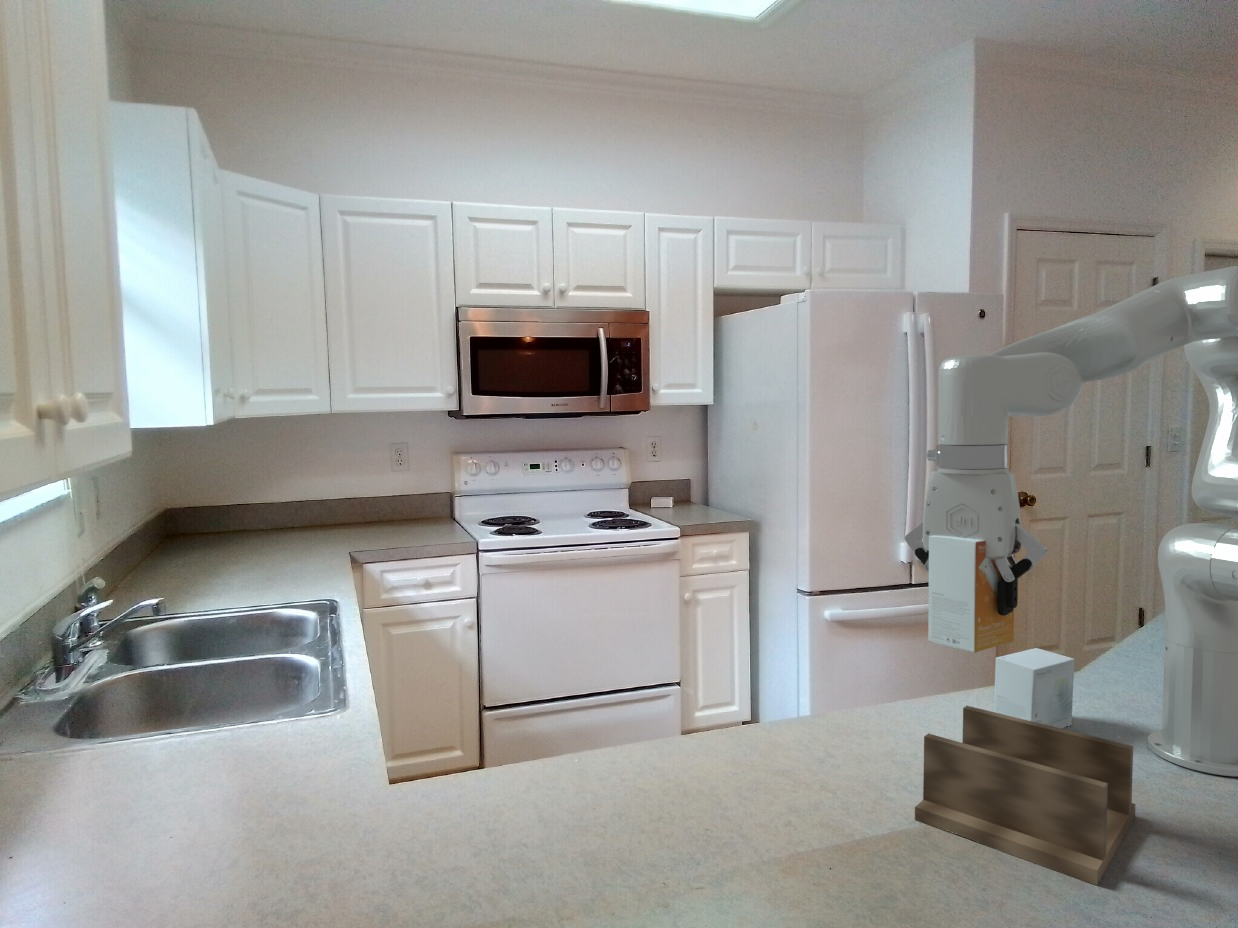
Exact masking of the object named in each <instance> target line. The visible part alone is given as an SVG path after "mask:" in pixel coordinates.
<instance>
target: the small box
mask: <svg viewBox="0 0 1238 928" xmlns="http://www.w3.org/2000/svg"><path fill="white" fill-rule="evenodd" d="M1013 556H1014V558H1015V559H1016V553H1015V554H1013ZM1001 580H1002V575H1001V573H1000V571H999V569H998V567H997V565H996V563H995V561H994V560H993V559H987V558H986V542H985V541H984V540H977V539H969V538H961V537H949V536H929V572H928V622H927V623H928V624H927V625H928V630H927V631H928V633H927V634H928V635H927V640H928V642H931V643H935V644H938V645H942V646H946V647H949V648H954V649H956V650H961V651H966V652H969V653H974V654H976V653H978V652H981V651H984V650H988V649H991V648H995V647H998V646H1002V645H1005V644H1006V645H1007V644H1012V643H1013V642H1014V640H1015V636H1014V635H1015V632H1014V631H1015V630H1014V629H1015V608H1013V612H1011V613H1009V614H1007V615H1005V616H1003V615H999V614H998V582H999V581H1001Z"/></svg>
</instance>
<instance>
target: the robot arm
mask: <svg viewBox="0 0 1238 928" xmlns="http://www.w3.org/2000/svg"><path fill="white" fill-rule="evenodd" d="M1182 347H1183V349H1184V355H1185V358H1186V361H1187V362H1188V364H1189V366H1190V368H1191V369H1192V370H1193V372H1194V373H1195V375H1196V376H1197V378H1198V380H1199V381H1200V384H1201V385H1202V388H1203V389H1204V391H1205V393H1206V396H1207V399H1208V404H1209V417H1208V420H1207V425H1206V428H1205V429H1206V430H1205V434H1204V437H1203V441H1202V444H1201V447H1200V451H1199V454H1198V459H1197V462H1196V466H1195V469H1194V473H1193V478H1192V483H1191V496H1192V500H1193V502H1194V503H1195V504H1196V506H1197V507H1198V508H1200V509H1202V510H1203V511H1205V512H1208V513H1210V514H1213V515H1218V516H1222V517H1230V518H1238V265H1234V266H1233V265H1232V266H1228V267H1227V266H1226V267H1223V268H1217V269H1212V270H1207V271H1202V272H1197V273H1191V274H1186V275H1181V276H1178V277H1174V278H1170V279H1168V280H1165V281H1162V282H1160V283H1157V284H1155V285H1153V286H1150V287H1148V288H1147V289H1145V290H1142V291H1140V292H1138V293H1136V294H1133V295H1132V296H1130V297H1128V298H1125V299H1123V300H1121V301H1118V302H1116V303H1115V304H1113V305H1110V306H1108V307H1106V308H1104V309H1101V310H1099V311H1097V312H1095V313H1092V314H1089V315H1086V316H1084V317H1080V318H1078V319H1075V320H1072V321H1070V322H1067V323H1065V324H1062V325H1060V326H1057V327H1054V328H1051V329H1050V330H1046V331H1043V332H1041V333H1037V334H1034V335H1032V336H1029V337H1027V338H1024V339H1021V340H1018V341H1016V342H1014V343H1011V344H1009V345H1006V346H1004V347H1002V348H1000V349H998V350H995V351H994V352H991V353H989V354H968V355H967V354H966V355H956V356H951V357H948V358H945V359H944V360H943V361H941V363H940V365H939V368H938V375H937V377H938V379H937V383H938V384H937V385H938V386H937V387H938V388H937V389H938V390H937V391H938V392H937V394H938V396H937V398H938V399H937V403H938V404H937V405H938V406H937V407H938V408H937V410H938V411H937V419H938V420H937V425H938V426H937V427H938V429H937V433H938V434H937V437H938V439H937V441H938V442H937V443H938V445H936V446H935V447H936V448H935V449H928V450H927V453H926V458H927V460H928V462H929V461H930V462H931V461H932V462H934V463H935V462H936V463H935V465H936V467H937V468H938V469H937V470H932V471H930V474H929V478H928V484H927V488H926V492H925V493H926V494H925V499H924V500H925V501H924V509H923V518H922V519H923V520H922V521H923V522H922V523H920V524H919V525H918V526H916V527H915V528H914V529H913V530H911V531H910V532H908V533H906V535H905V536H904V541H905V542H906V544H907V545H908V546H909V547H910V549H911V550H912V551H913V552H914V555H915V557H916V558H917V559H918V560H919V561H920V563H921V564H922V565H923V566H924V570H925V571H927V572H928V573H929V536H949V537H961V538H969V539H977V540H984V541H985V542H986V558H987V559H993V560H994V561H995V563H996V565H997V567H998V569H999V571H1000V573H1001V575H1002V580H1001V581H999V582H998V614H999V615H1003V616H1005V615H1007V614H1009V613H1011V612H1013V608H1014V609H1016V608H1017V606H1018V602H1019V601H1018V599H1019V598H1018V597H1019V596H1018V595H1019V591H1018V589H1019V588H1018V587H1019V584H1018V583H1019V579H1020V578H1021V577H1022V576H1023V575H1025V574H1026V573H1027V572H1029V571H1030V570H1032V568H1033V567H1034V566H1035V565H1036V564H1037V563H1038V562H1039V561H1040V560H1041V559H1043V557H1044V556H1046V554H1047V553H1048V552H1049V549H1048V548H1047V547H1046V545H1044V544H1043V543H1042V542H1041V541H1039V539H1037V537H1035V536H1034V535H1032V534H1031V533H1030V532H1029V531H1028V530H1027V529H1026V528H1024V527H1023V526H1022V517H1021V508H1020V499H1019V493H1018V488H1017V487H1018V486H1017V482H1016V478H1015V474H1014V472H1013V471H1009V470H1008V469H1009V467H1008V465H1009V461H1008V460H1009V454H1008V453H1009V451H1008V449H1009V447H1008V443H1009V442H1008V441H1009V439H1008V438H1009V437H1008V436H1009V417H1025V418H1026V417H1045V416H1046V417H1047V416H1052V415H1055V414H1059V413H1061V412H1063V411H1065V410H1067V409H1068V408H1070V407H1072V405H1074V403H1075V402H1076V401H1077V399H1078V398H1079V397H1080V394H1081V392H1082V388H1083V386H1082V385H1083V383H1089V382H1095V381H1096V382H1097V381H1101V380H1107V379H1111V378H1114V377H1118V376H1122V375H1125V374H1128V373H1132V372H1133V371H1135V370H1138V369H1140V368H1142V367H1143V366H1145V365H1148V364H1149V363H1151V362H1153V361H1156V360H1158V359H1159V358H1161V357H1163V356H1166V355H1168V354H1169V353H1171V352H1173V351H1177V350H1178V349H1180V348H1182ZM1021 546H1023V547H1024V548H1025V549H1026V550H1027V553H1026V555H1024V557H1022V559H1020V560H1019V561H1018V562H1017V560H1016V557H1015V558H1014V556H1013V554H1015V555H1016V554H1017V553H1019V552H1020V550H1021V549H1022V547H1021ZM1157 564H1158V569H1159V574H1160V579H1161V583H1162V590H1163V597H1164V612H1165V616H1164V620H1165V621H1164V649H1163V650H1164V654H1163V659H1164V660H1163V680H1162V681H1163V683H1162V684H1163V685H1162V686H1163V689H1162V715H1161V716H1162V717H1161V718H1162V720H1161V723H1162V724H1161V730H1158V731H1155V732H1152V733H1150V734H1149V735H1148V737H1147V747H1148V748H1149V750H1150V751H1151V752H1153V753H1154V754H1155V755H1157V756H1158V757H1160V758H1162V759H1164V760H1166V761H1168V762H1169V763H1173V764H1176V765H1178V766H1181V767H1184V768H1186V769H1190V770H1193V771H1198V772H1202V773H1205V774H1212V775H1219V776H1224V777H1225V776H1226V777H1233V778H1234V777H1237V778H1238V526H1236V525H1227V524H1219V523H1218V524H1217V523H1212V522H1194V523H1192V522H1191V523H1184V524H1181V525H1179V526H1176V527H1174V528H1173V529H1170V530H1169V531H1167V533H1166V534H1164V536H1163V538H1162V539H1161V540H1160V544H1159V546H1158V551H1157Z"/></svg>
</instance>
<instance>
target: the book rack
mask: <svg viewBox="0 0 1238 928" xmlns="http://www.w3.org/2000/svg"><path fill="white" fill-rule="evenodd" d="M1133 761H1134V746H1133V745H1131V744H1126V743H1122V742H1117V741H1113V740H1111V739H1110V740H1109V739H1105V738H1101V737H1098V736H1094V735H1089V734H1085V733H1082V732H1081V733H1080V732H1077V731H1072V730H1069V729H1065V728H1062V729H1061V728H1057V727H1053V726H1049V725H1044V724H1040V723H1036V722H1032V721H1028V720H1024V719H1020V718H1016V717H1012V716H1008V715H1003V714H999V713H995V712H993V711H990V710H986V709H983V708H982V709H981V708H978V707H974V706H970V705H965V706H964V707H963V708H962V742H961V741H957V740H953V739H949V738H946V737H942V736H939V735H935V734H932V733H930V732H929V733H927V734H925V735H924V737H923V786H922V787H923V790H922V791H923V793H922V797H923V799H922V800H921V801H920V802H919V803H917V804H916V805H915V806H914V820H915V821H918V822H920V823H923V824H926V825H928V826H931V827H934V826H935V827H934V828H936V827H939V828H941V829H940V830H942V829H944V830H943V831H945V830H948V831H949V832H948V833H950V832H953V833H957V834H958V835H957V836H959V835H961V836H964V837H966V838H965V839H967V838H970V839H972V840H975V841H978V842H979V844H981V843H982V844H981V845H983V844H985V845H984V846H986V845H987V847H989V846H990V847H989V848H992V847H993V848H992V849H994V850H997V849H998V851H1000V850H1001V851H1000V852H1002V853H1006V854H1008V855H1012V856H1015V857H1017V858H1020V859H1023V860H1024V861H1028V862H1031V863H1034V864H1037V865H1039V866H1042V867H1045V868H1047V869H1050V870H1052V871H1056V872H1058V873H1060V874H1064V875H1067V876H1068V877H1069V876H1070V877H1072V878H1075V879H1078V880H1081V881H1083V882H1087V883H1088V884H1089V883H1090V884H1092V885H1095V886H1098V884H1099V882H1100V881H1101V879H1102V877H1103V876H1104V874H1105V872H1106V870H1107V868H1108V867H1109V865H1110V863H1111V861H1112V860H1113V857H1114V856H1115V854H1116V852H1117V850H1118V848H1119V847H1120V846H1121V843H1122V841H1123V840H1124V838H1125V836H1126V834H1127V832H1128V831H1129V829H1130V827H1131V825H1132V823H1133V822H1134V820H1135V818H1136V808H1137V807H1136V803H1133V802H1132V800H1133V768H1134V767H1133V766H1134V764H1133V763H1134V762H1133ZM939 828H938V829H939ZM953 833H952V834H953ZM961 836H960V837H961ZM964 837H963V838H964ZM970 839H969V840H970ZM972 840H971V841H972ZM975 841H974V842H975ZM978 842H977V843H978Z"/></svg>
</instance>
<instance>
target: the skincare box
mask: <svg viewBox="0 0 1238 928" xmlns="http://www.w3.org/2000/svg"><path fill="white" fill-rule="evenodd" d="M994 667H995V668H994V671H995V672H994V694H993V708H992V710H993V711H992V712H995V713H999V714H1003V715H1008V716H1012V717H1016V718H1020V719H1024V720H1028V721H1032V722H1036V723H1040V724H1044V725H1049V726H1053V727H1057V728H1062V729H1065V728H1067V727H1066V726H1068V727H1070V725H1071V726H1072V724H1073V721H1072V719H1073V698H1074V680H1075V679H1074V677H1075V675H1074V673H1075V658H1073V657H1069V656H1066V655H1062V654H1059V653H1056V652H1052V651H1049V650H1045V649H1041V648H1038V647H1034V648H1030V649H1026V650H1022V651H1019V652H1018V651H1017V652H1014V653H1009V654H1006V655H1002V656H997V657H995V666H994ZM1064 727H1065V728H1064Z"/></svg>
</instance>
